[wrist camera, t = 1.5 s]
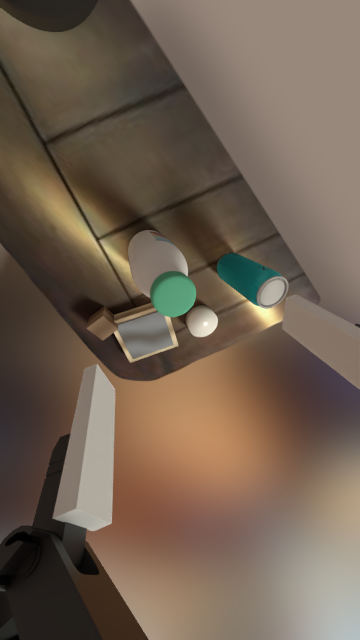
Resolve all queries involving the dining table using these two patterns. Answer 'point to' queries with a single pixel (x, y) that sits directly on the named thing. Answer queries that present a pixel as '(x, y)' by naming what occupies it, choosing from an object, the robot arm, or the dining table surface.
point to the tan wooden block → (102, 323)
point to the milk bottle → (161, 273)
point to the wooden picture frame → (144, 332)
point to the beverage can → (252, 280)
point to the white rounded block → (201, 321)
